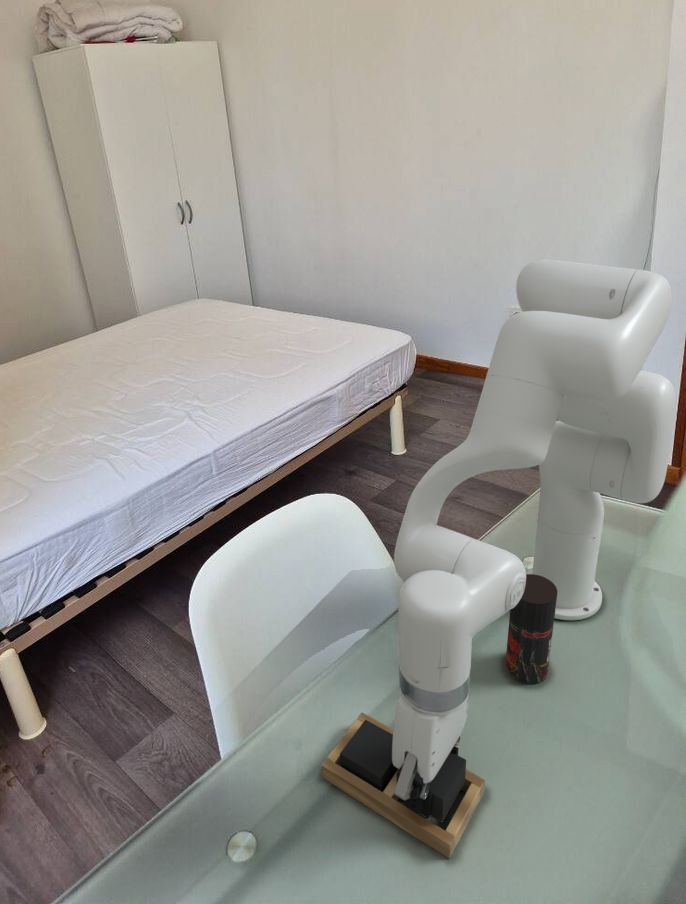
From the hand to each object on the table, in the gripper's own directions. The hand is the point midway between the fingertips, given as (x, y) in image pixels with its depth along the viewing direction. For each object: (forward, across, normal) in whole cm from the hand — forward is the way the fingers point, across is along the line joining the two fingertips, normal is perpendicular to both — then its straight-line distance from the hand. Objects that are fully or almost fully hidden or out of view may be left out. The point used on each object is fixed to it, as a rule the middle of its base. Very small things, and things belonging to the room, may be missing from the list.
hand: (431, 785), depth 82 cm
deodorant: (+3, -26, +2) cm, 26 cm away
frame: (+3, 0, -4) cm, 5 cm away
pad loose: (+1, 0, 0) cm, 1 cm away
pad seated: (+3, 0, -8) cm, 9 cm away
